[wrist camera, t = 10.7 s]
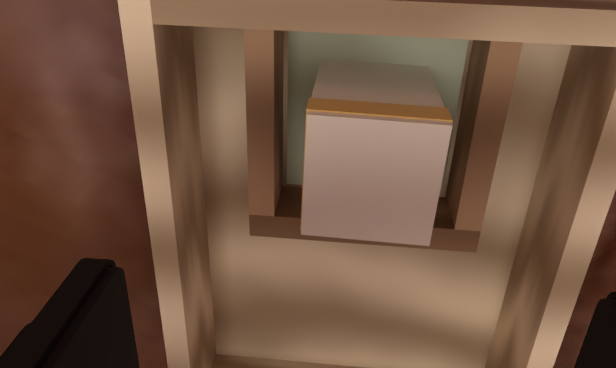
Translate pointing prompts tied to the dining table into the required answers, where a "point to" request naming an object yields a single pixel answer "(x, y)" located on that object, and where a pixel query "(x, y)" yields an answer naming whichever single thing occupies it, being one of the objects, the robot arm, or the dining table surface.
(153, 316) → the dining table surface
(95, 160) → the dining table surface
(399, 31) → the walled box
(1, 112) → the dining table surface
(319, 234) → the small white lidded box
